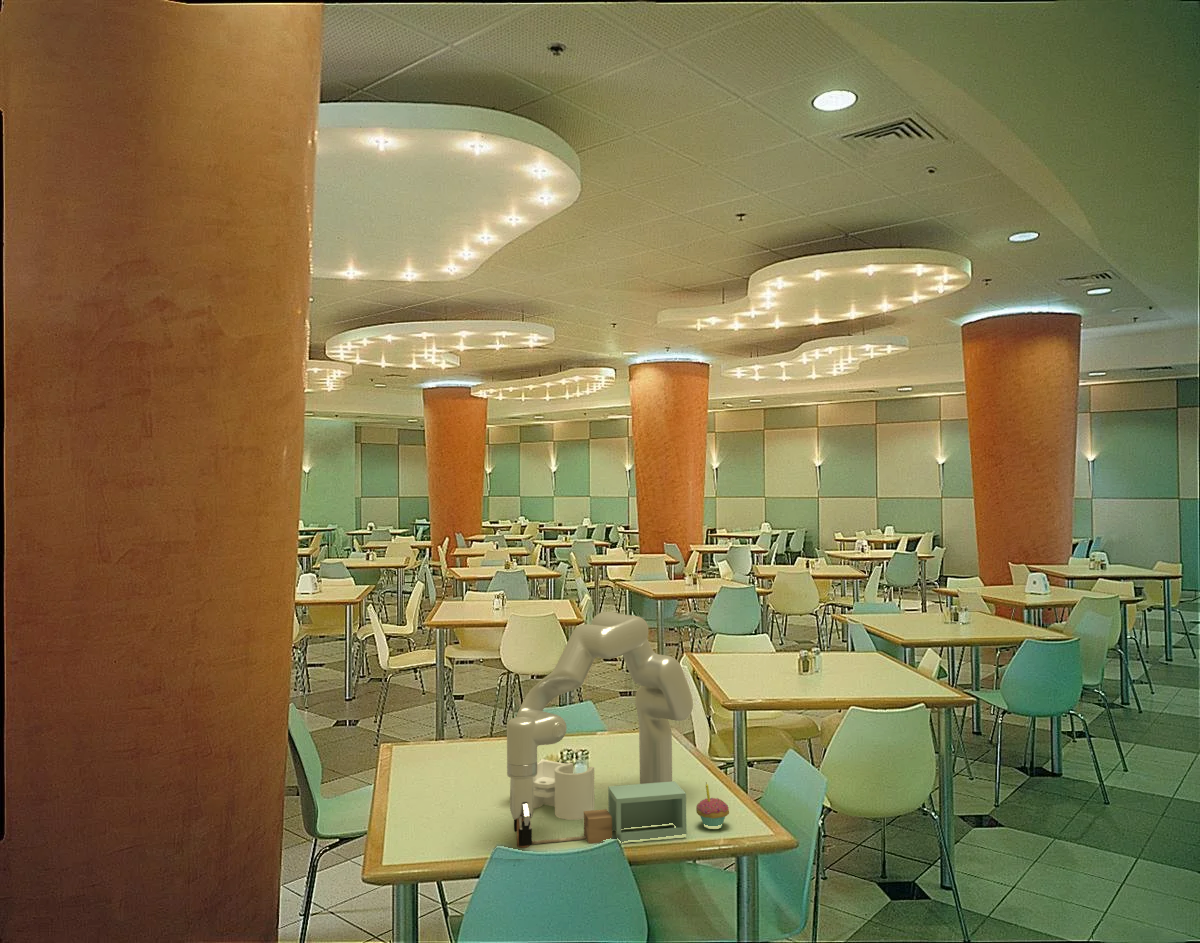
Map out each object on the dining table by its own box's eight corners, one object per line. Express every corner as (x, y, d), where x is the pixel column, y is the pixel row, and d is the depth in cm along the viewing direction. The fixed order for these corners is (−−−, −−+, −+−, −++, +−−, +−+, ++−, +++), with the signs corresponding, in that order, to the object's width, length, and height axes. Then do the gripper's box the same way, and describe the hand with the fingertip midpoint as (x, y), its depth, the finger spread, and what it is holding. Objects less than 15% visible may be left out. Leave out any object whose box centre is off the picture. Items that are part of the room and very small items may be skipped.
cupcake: (711, 835, 230) (711, 787, 230) (689, 825, 236) (688, 779, 237) (736, 827, 235) (735, 781, 235) (713, 818, 241) (712, 773, 242)
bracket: (504, 806, 253) (504, 763, 253) (525, 796, 261) (524, 754, 262) (579, 822, 240) (578, 776, 240) (598, 811, 248) (597, 767, 248)
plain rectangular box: (608, 830, 234) (608, 786, 234) (675, 824, 238) (674, 781, 238) (617, 844, 224) (616, 799, 224) (686, 838, 228) (685, 793, 228)
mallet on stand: (515, 841, 227) (515, 813, 227) (606, 832, 232) (606, 805, 232) (518, 850, 221) (518, 821, 221) (612, 841, 226) (611, 813, 226)
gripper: (503, 759, 232) (504, 826, 232) (511, 780, 216) (511, 852, 215) (532, 757, 234) (533, 824, 233) (542, 778, 217) (542, 849, 217)
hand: (522, 837), depth 224 cm, fingers open, 9 cm apart
